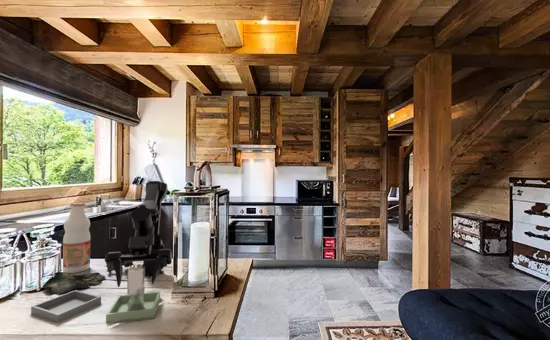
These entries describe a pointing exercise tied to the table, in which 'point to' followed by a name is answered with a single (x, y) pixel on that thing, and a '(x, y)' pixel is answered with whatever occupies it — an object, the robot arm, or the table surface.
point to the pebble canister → (135, 288)
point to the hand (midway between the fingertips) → (135, 284)
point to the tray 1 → (65, 305)
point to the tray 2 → (122, 315)
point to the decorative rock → (71, 282)
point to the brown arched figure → (123, 264)
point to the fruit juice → (76, 240)
